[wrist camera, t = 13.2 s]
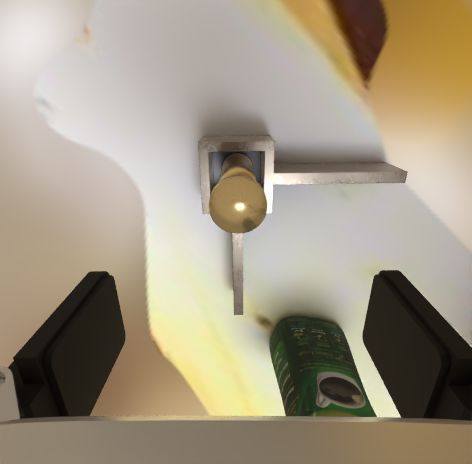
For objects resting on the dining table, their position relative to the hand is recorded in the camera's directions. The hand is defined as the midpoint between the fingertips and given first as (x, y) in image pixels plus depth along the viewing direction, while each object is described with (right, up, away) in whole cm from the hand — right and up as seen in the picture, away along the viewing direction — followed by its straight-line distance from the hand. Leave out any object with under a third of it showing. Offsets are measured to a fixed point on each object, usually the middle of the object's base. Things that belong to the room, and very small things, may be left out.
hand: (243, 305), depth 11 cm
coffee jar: (+9, -12, +30) cm, 33 cm away
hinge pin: (0, +9, +21) cm, 23 cm away
